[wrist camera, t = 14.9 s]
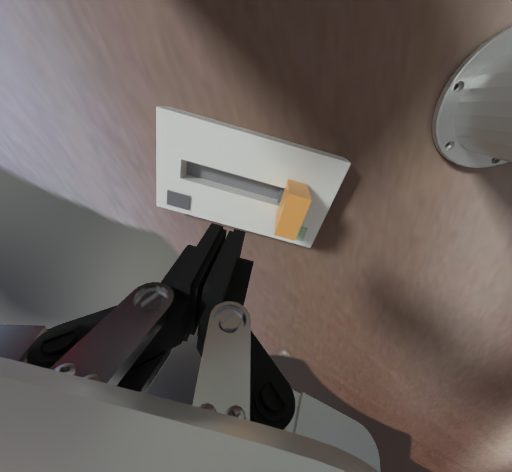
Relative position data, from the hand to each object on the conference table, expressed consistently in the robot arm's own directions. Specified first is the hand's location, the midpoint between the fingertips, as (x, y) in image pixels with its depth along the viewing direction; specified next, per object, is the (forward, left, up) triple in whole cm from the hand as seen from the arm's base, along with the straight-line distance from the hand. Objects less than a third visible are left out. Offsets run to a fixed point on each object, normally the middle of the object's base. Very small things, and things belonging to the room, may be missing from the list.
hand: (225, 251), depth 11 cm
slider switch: (+1, +3, -20) cm, 20 cm away
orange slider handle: (-5, +3, -19) cm, 20 cm away
